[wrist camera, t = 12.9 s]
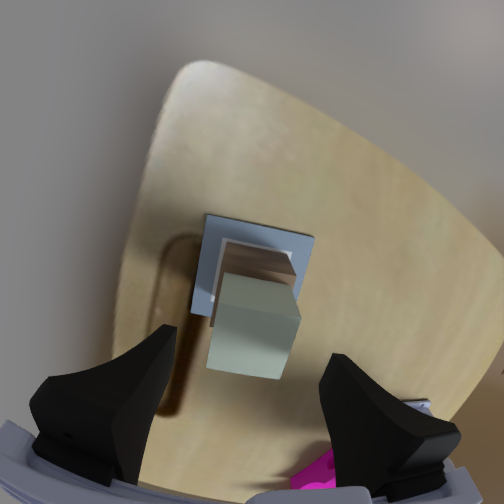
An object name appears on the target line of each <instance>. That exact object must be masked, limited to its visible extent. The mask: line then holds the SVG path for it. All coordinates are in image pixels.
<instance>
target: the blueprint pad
mask: <svg viewBox="0 0 504 504" xmlns="http://www.w3.org/2000/svg"><path fill="white" fill-rule="evenodd" d="M314 240H315V238H314V237H311V236H307V235H303V234H298V233H294V232H289V231H285V230H280V229H276V228H271V227H266V226H262V225H257V224H252V223H248V222H243V221H238V220H233V219H229V218H224V217H219V216H214V215H209V214H208V215H207V219H206V224H205V230H204V235H203V241H202V246H201V252H200V258H199V264H198V270H197V276H196V282H195V288H194V295H193V301H192V308H191V313H195V314H199V315H204V316H209V317H211V315H212V310H213V304H214V299H215V294H216V289H217V283H218V278H219V273H220V268H221V263H222V258H223V254H224V251H225V247H226V243H227V242H232V243H237V244H241V245H246V246H251V247H256V248H261V249H265V250H270V251H275V252H280V253H285V254H287V255H288V257H289V260H290V262H291V264H292V266H293V269H294V271H295V273H296V276H297V277H296V281H295V284H294V288H293V291H292V292H293V294H294V297H295V300H296V302H297V298H298V295H299V292H300V289H301V285H302V282H303V279H304V275H305V272H306V268H307V265H308V261H309V258H310V254H311V251H312V247H313V244H314Z"/></svg>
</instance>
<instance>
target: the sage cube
mask: <svg viewBox="0 0 504 504" xmlns="http://www.w3.org/2000/svg"><path fill="white" fill-rule="evenodd" d="M300 321H301V315H300V312H299V309H298V306H297V303H296V300H295V297H294V294H293V292H292V289H291V286H290V285H286V284H281V283H276V282H271V281H265V280H260V279H255V278H250V277H245V276H240V275H236V274H231V273H226V272H224V277H223V282H222V287H221V291H220V297H219V302H218V307H217V312H216V317H215V322H214V327H213V333H212V338H211V343H210V349H209V354H208V359H207V365H206V368H209V369H215V370H220V371H226V372H231V373H237V374H243V375H250V376H256V377H263V378H271V379H279V380H280V377H281V375H282V372H283V369H284V367H285V364H286V361H287V358H288V356H289V353H290V350H291V347H292V344H293V342H294V339H295V336H296V333H297V330H298V327H299V324H300Z"/></svg>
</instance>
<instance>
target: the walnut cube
mask: <svg viewBox="0 0 504 504" xmlns="http://www.w3.org/2000/svg"><path fill="white" fill-rule="evenodd" d="M224 272H226V273H231V274H236V275H240V276H245V277H250V278H255V279H260V280H265V281H271V282H276V283H281V284H286V285H290V286H291V289H292V291H293V288H294V284H295V281H296V277H297V276H296V273H295V271H294V269H293V266H292V264H291V262H290V260H289V257H288V255H287V254H285V253H280V252H275V251H270V250H265V249H261V248H256V247H251V246H246V245H241V244H237V243H232V242H227V243H226V247H225V251H224V254H223V258H222V263H221V268H220V273H219V278H218V283H217V289H216V294H215V299H214V304H213V310H212V315H211V321H210V326H209V327H214V322H215V317H216V312H217V307H218V302H219V297H220V291H221V287H222V282H223V277H224Z"/></svg>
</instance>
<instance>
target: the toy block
mask: <svg viewBox="0 0 504 504" xmlns="http://www.w3.org/2000/svg"><path fill="white" fill-rule="evenodd" d="M290 480H291V487H292V489H290V490H296V489H324V488H336V478H335V465H334V456H333V449H331V450H329V451H328V452H327V453H325V454H324V455H323V456H322V457H320V458H319V459H318V460H316V461H315V462H313V463H312V464H311V465H309V466H308V467H307V468H305V469H304V470H302V471H301V472H299V473H298V474H296V475H295V476H293V477H292V478H290Z"/></svg>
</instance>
